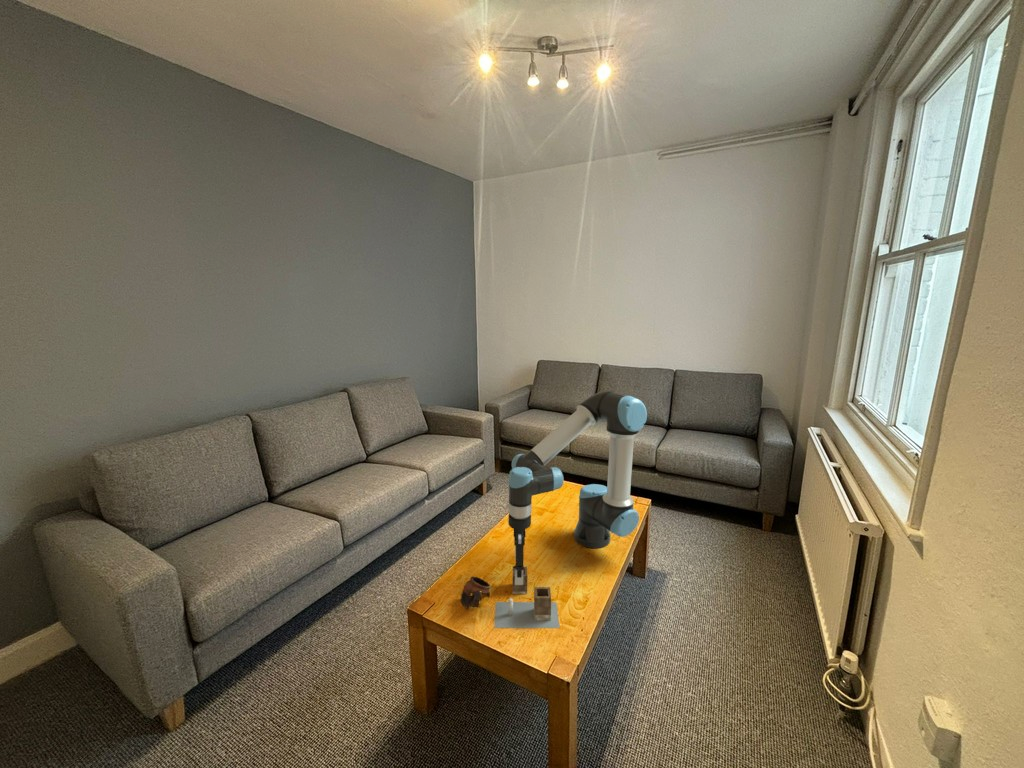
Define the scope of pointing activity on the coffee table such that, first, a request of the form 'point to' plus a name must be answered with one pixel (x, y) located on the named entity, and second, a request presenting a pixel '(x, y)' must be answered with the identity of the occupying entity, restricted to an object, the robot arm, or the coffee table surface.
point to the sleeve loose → (520, 588)
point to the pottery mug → (474, 592)
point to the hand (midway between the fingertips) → (518, 571)
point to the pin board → (522, 615)
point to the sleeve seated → (542, 603)
